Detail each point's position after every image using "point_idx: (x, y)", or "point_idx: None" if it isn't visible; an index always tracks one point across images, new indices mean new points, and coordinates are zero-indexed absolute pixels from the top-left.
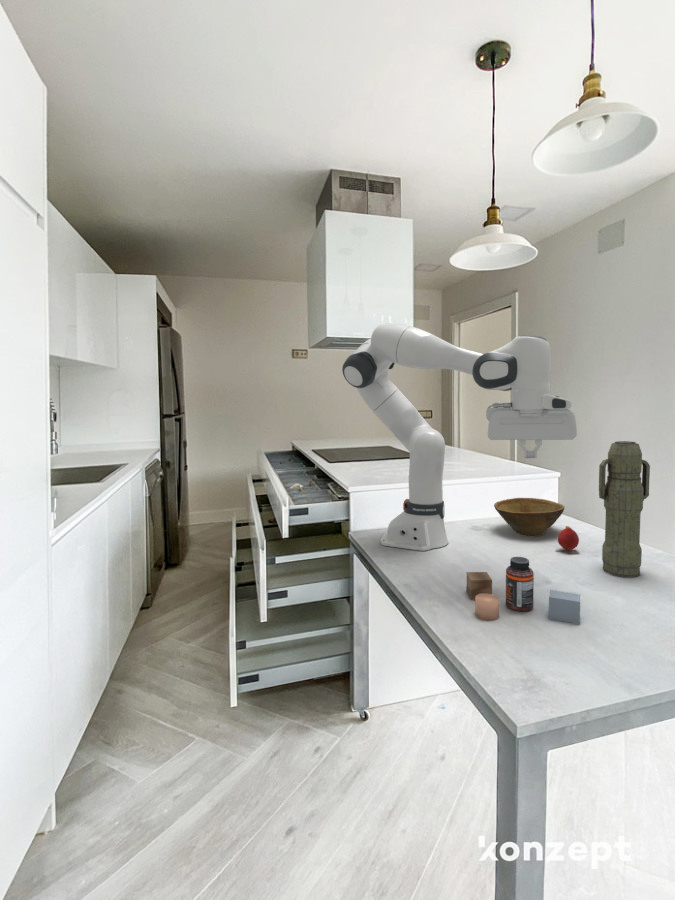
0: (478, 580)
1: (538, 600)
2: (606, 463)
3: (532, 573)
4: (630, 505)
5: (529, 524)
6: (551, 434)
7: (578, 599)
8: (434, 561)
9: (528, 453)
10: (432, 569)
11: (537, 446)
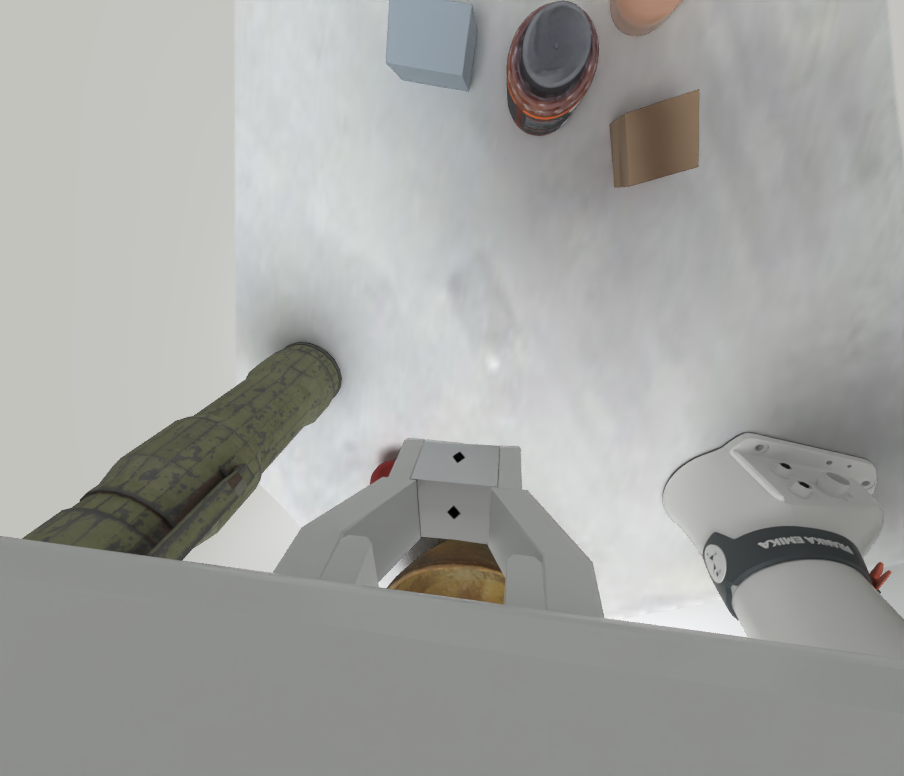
0: (671, 98)
1: (488, 155)
2: None
3: (512, 42)
4: (177, 426)
5: (466, 547)
6: (23, 629)
7: (393, 11)
8: (727, 368)
9: (476, 466)
10: (746, 310)
11: (362, 514)
